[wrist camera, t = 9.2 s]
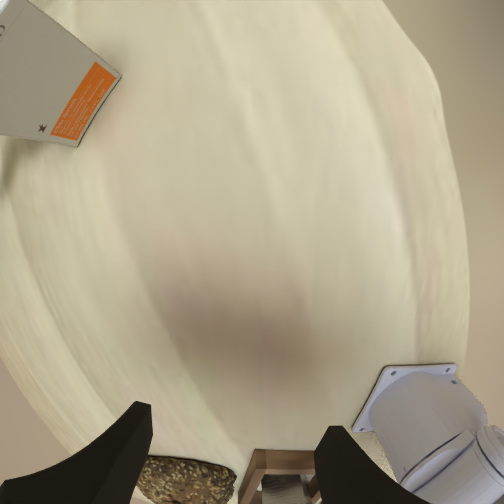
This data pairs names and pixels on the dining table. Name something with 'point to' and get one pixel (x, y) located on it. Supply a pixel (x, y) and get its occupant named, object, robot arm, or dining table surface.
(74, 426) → the dining table surface
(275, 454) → the wooden frame
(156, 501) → the bread roll
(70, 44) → the skincare box
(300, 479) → the steel bracket block
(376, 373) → the dining table surface
